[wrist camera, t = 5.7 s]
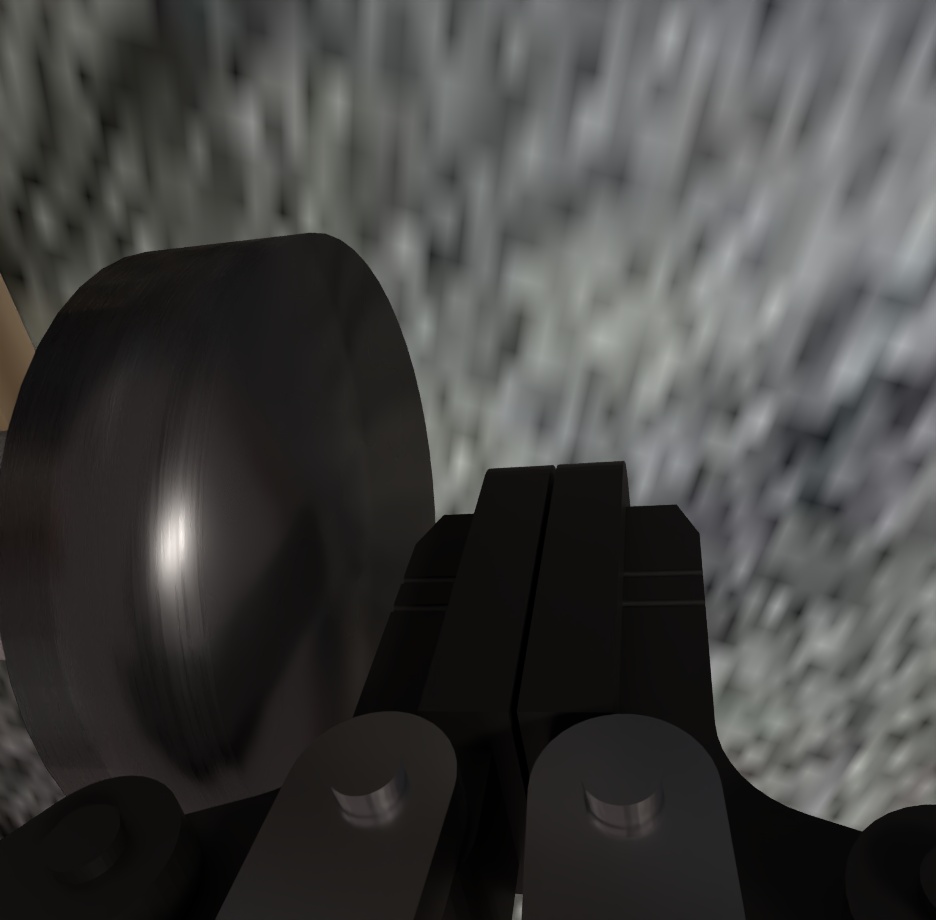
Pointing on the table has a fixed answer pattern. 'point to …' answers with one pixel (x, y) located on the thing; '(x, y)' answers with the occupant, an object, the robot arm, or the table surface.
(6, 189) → the table surface
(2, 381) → the block
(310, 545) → the shaft
